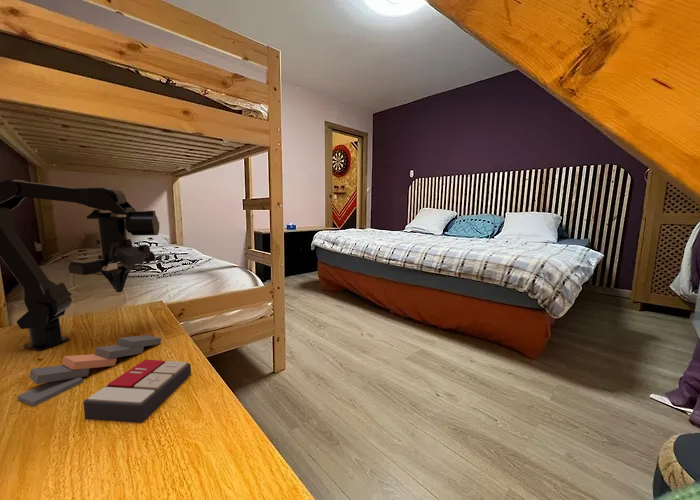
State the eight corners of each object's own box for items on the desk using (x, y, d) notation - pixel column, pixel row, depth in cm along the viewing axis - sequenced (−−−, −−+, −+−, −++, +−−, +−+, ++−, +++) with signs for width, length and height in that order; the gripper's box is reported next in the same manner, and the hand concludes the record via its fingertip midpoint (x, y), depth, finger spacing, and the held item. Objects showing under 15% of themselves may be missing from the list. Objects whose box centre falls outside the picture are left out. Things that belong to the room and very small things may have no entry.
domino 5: (146, 340, 81) (116, 344, 74) (148, 334, 82) (117, 337, 74) (160, 344, 80) (130, 348, 72) (161, 338, 80) (131, 341, 72)
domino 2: (68, 380, 65) (18, 403, 57) (67, 373, 64) (17, 396, 57) (83, 385, 63) (34, 409, 56) (82, 378, 63) (33, 402, 55)
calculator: (191, 360, 67) (141, 401, 52) (192, 377, 67) (142, 424, 52) (144, 357, 67) (81, 397, 52) (145, 375, 68) (83, 420, 53)
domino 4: (128, 349, 77) (94, 354, 69) (130, 343, 77) (95, 347, 69) (142, 353, 75) (108, 358, 68) (143, 346, 75) (110, 351, 68)
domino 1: (79, 369, 67) (29, 377, 60) (81, 362, 67) (31, 368, 60) (87, 375, 64) (36, 384, 58) (89, 368, 65) (38, 375, 58)
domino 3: (103, 360, 71) (61, 363, 64) (105, 353, 72) (63, 356, 64) (114, 365, 69) (72, 369, 62) (116, 358, 69) (74, 362, 62)
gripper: (95, 242, 68) (103, 307, 70) (167, 234, 85) (171, 286, 88) (63, 239, 71) (71, 301, 74) (138, 231, 88) (143, 282, 91)
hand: (119, 291), depth 81 cm, fingers closed
